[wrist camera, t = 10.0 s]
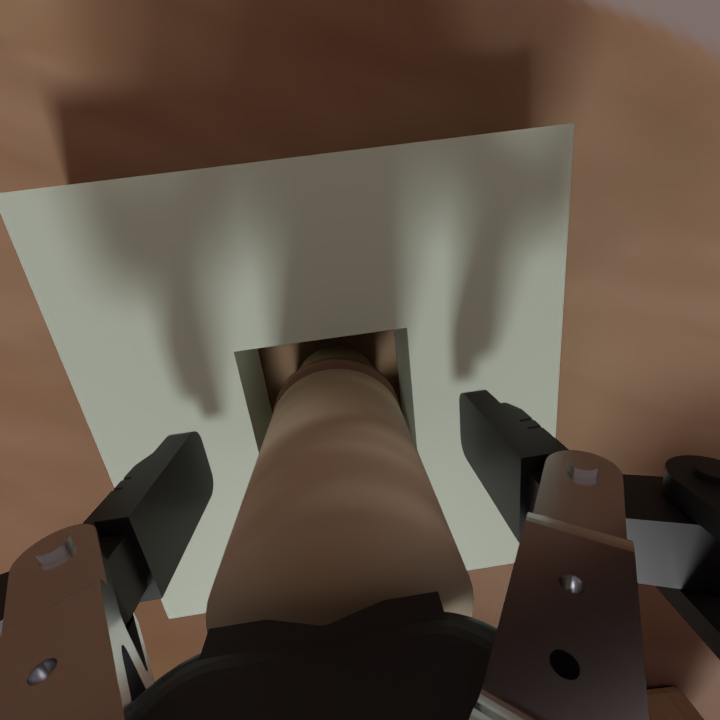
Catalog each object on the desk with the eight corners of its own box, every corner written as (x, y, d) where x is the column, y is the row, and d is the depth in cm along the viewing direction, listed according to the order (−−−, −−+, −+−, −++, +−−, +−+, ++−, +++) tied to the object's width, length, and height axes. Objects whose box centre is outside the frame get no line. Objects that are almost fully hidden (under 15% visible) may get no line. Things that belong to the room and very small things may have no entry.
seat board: (520, 150, 13) (573, 122, 10) (513, 507, 18) (547, 557, 15) (71, 205, 12) (-8, 194, 9) (195, 557, 17) (168, 619, 14)
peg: (381, 328, 14) (474, 487, 5) (391, 421, 16) (478, 685, 6) (276, 342, 14) (165, 535, 5) (295, 435, 16) (238, 726, 6)
